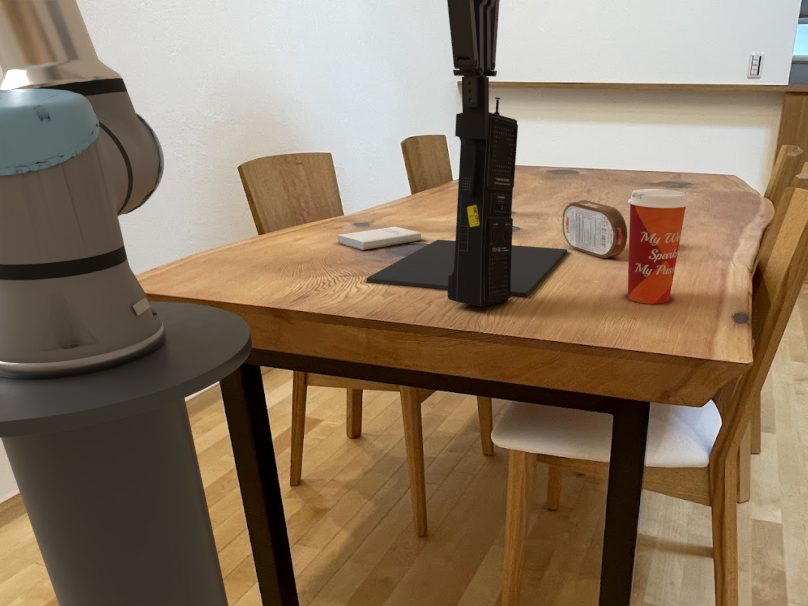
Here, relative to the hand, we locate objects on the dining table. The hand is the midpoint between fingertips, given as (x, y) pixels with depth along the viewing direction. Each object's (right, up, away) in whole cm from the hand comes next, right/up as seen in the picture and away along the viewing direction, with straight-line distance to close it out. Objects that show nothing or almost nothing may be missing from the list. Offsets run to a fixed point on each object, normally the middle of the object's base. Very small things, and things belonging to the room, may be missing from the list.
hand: (476, 138), depth 77 cm
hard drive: (-20, -3, +43) cm, 48 cm away
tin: (+18, -6, +38) cm, 42 cm away
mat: (-2, -10, +28) cm, 30 cm away
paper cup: (+23, -17, +14) cm, 32 cm away
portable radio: (0, -18, +9) cm, 20 cm away
